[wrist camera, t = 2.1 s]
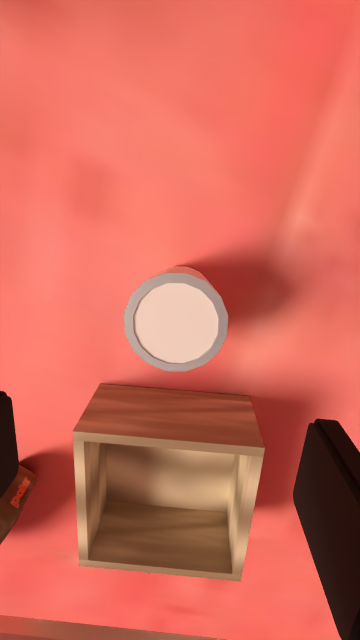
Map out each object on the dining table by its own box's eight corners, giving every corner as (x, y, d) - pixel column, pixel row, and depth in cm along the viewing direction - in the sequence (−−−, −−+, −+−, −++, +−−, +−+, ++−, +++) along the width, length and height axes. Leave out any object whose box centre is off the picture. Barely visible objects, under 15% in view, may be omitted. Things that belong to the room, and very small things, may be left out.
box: (100, 383, 30) (72, 431, 23) (249, 396, 30) (265, 447, 23) (101, 498, 34) (79, 565, 28) (231, 510, 34) (240, 581, 27)
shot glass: (134, 327, 28) (116, 361, 21) (148, 250, 26) (131, 261, 19) (210, 343, 28) (214, 382, 21) (229, 267, 26) (241, 285, 19)
